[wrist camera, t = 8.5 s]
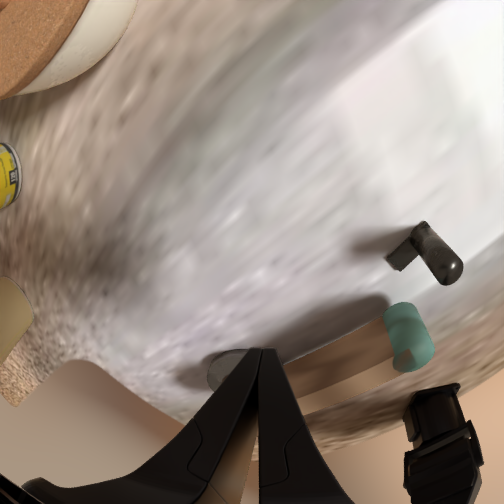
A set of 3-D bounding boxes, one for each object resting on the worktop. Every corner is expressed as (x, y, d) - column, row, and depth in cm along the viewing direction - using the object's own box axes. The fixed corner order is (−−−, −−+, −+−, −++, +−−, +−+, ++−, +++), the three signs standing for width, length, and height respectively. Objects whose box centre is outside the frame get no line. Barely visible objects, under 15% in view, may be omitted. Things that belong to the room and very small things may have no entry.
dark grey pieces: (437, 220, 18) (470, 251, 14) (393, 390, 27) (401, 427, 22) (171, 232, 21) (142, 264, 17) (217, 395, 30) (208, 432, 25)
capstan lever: (243, 405, 28) (237, 441, 24) (211, 381, 26) (200, 418, 22) (424, 324, 21) (441, 363, 17) (404, 284, 19) (424, 324, 15)
